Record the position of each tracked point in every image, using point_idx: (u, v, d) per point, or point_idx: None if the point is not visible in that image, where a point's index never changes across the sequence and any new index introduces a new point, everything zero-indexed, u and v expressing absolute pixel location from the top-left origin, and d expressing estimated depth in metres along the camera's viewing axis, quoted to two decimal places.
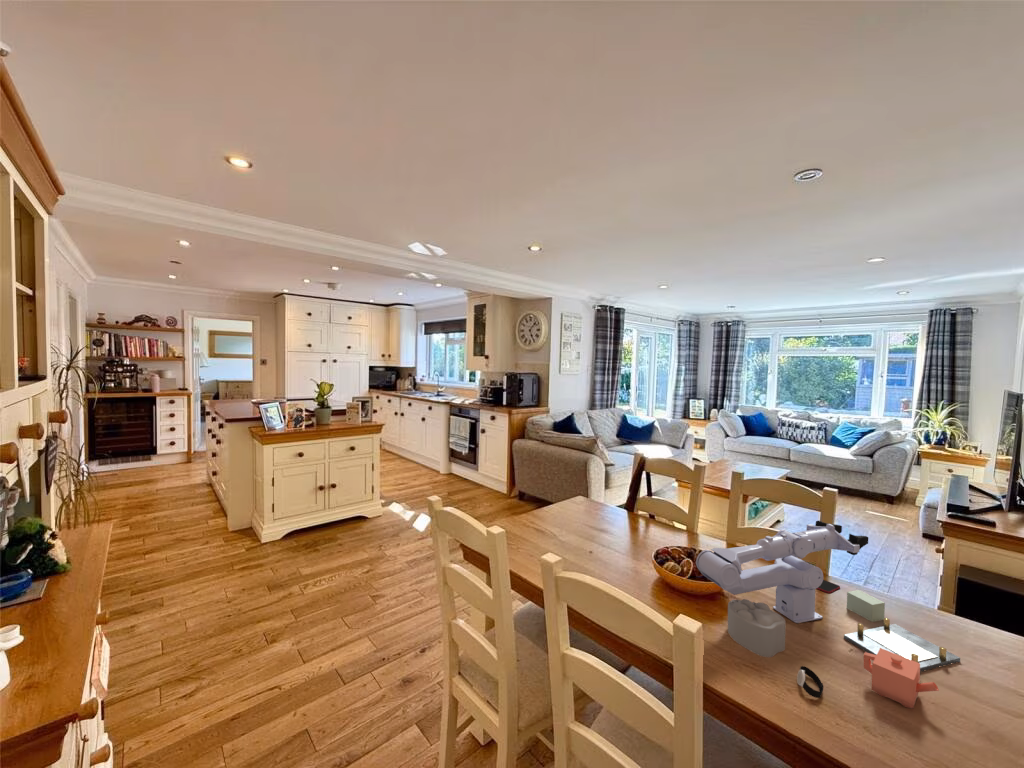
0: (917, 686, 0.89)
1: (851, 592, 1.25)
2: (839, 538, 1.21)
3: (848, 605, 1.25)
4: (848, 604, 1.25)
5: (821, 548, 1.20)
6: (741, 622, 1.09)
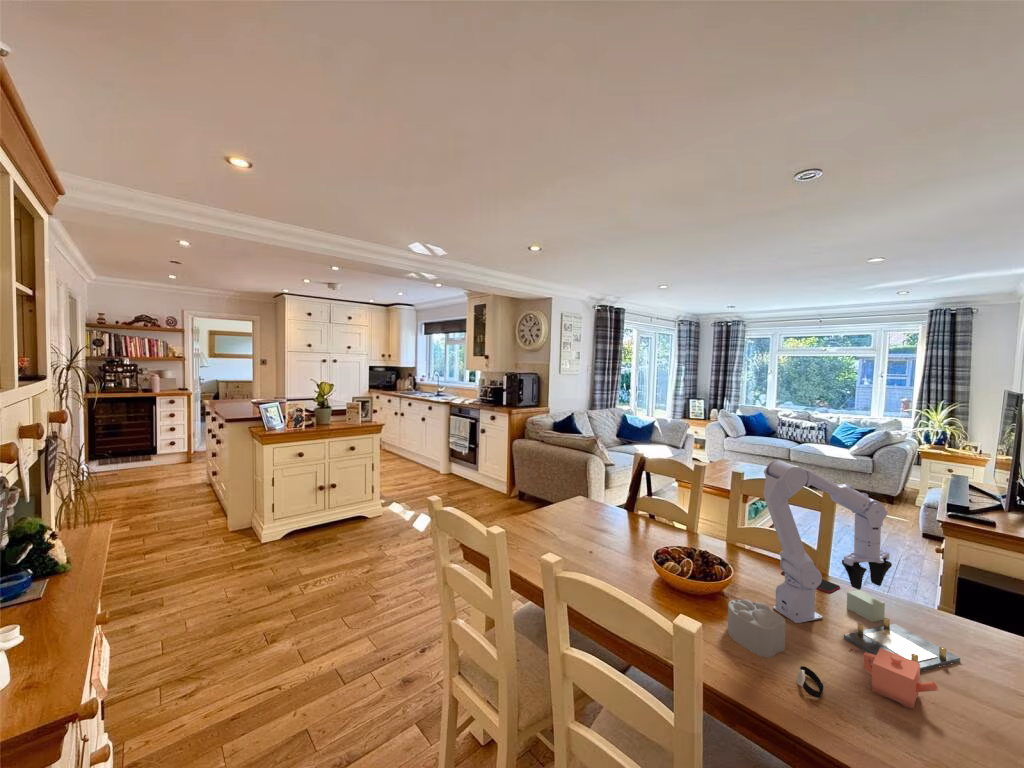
0: (917, 686, 0.89)
1: (851, 592, 1.25)
2: (863, 558, 1.20)
3: (848, 605, 1.25)
4: (848, 604, 1.25)
5: (870, 538, 1.19)
6: (741, 622, 1.09)
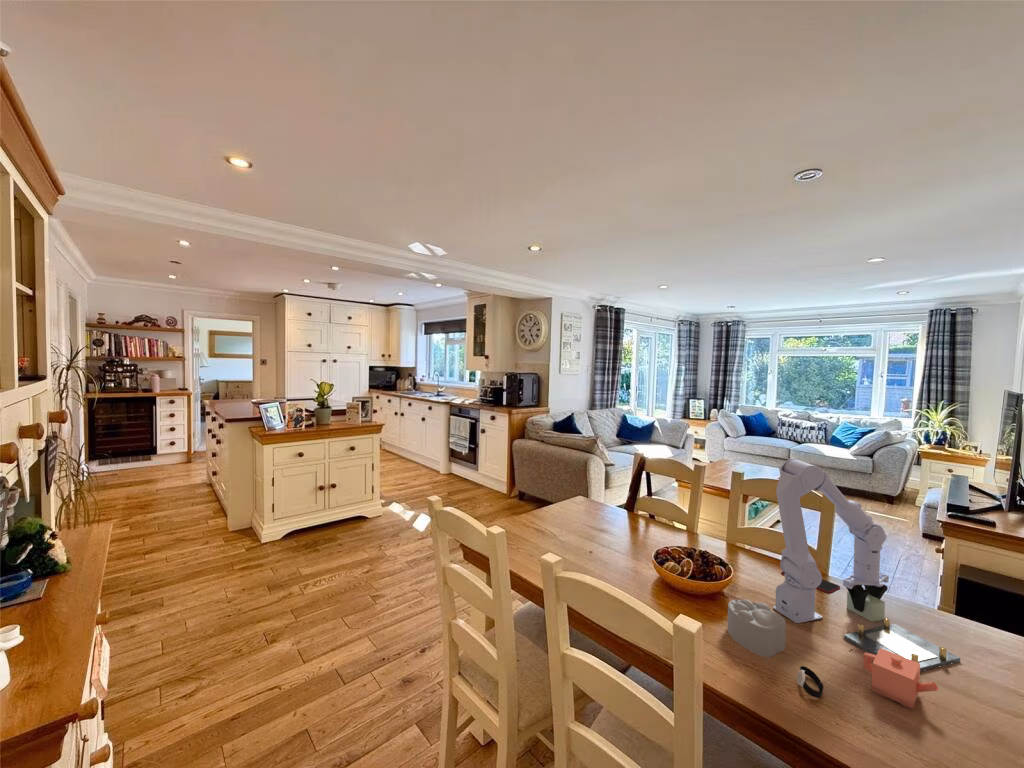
0: (917, 686, 0.89)
1: None
2: (862, 581, 1.20)
3: (848, 605, 1.25)
4: (848, 604, 1.25)
5: (869, 561, 1.19)
6: (741, 622, 1.09)
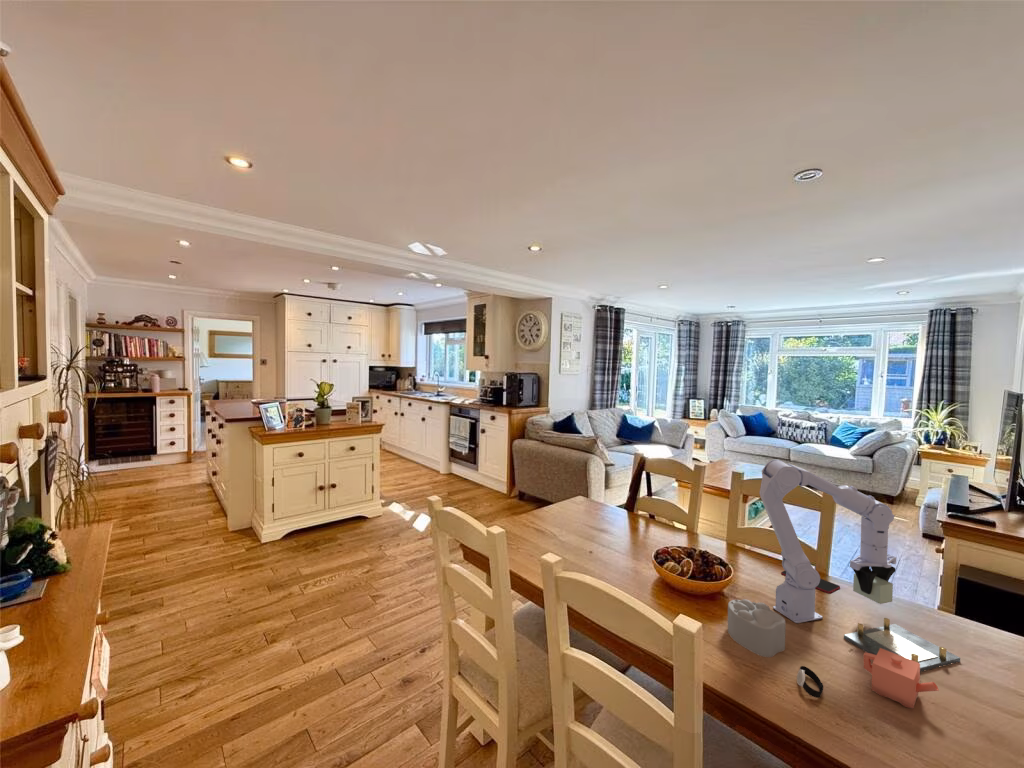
0: (917, 686, 0.89)
1: None
2: (870, 562, 1.16)
3: (855, 587, 1.21)
4: (855, 586, 1.21)
5: (874, 541, 1.16)
6: (741, 622, 1.09)
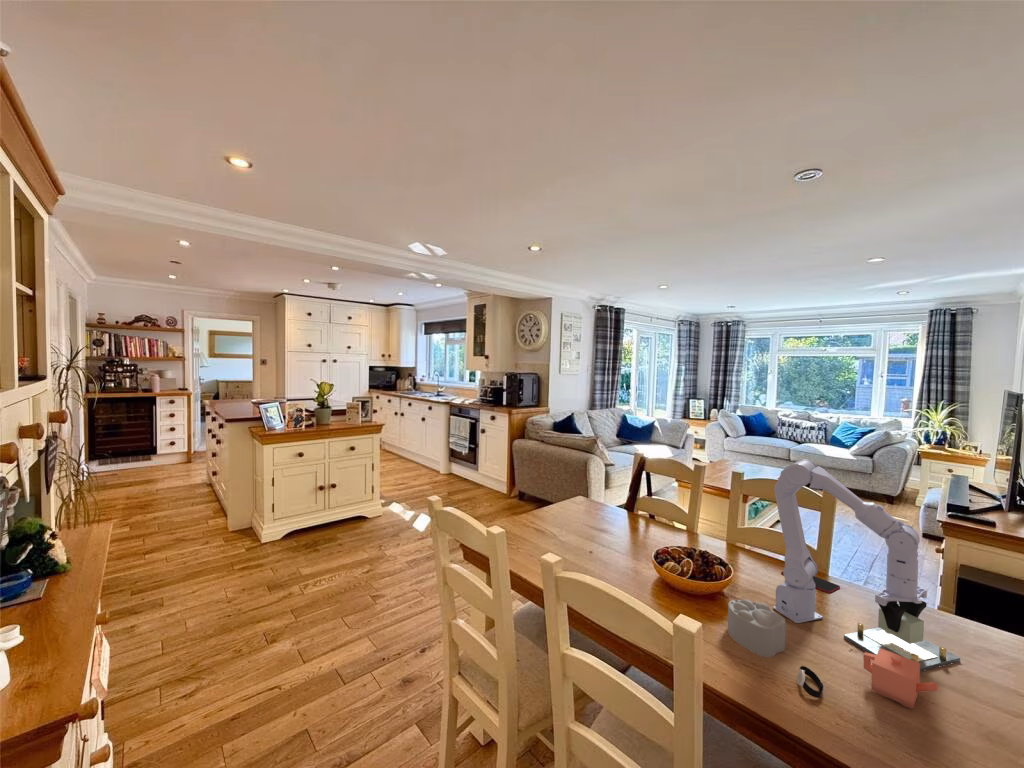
0: (917, 686, 0.89)
1: None
2: (898, 597, 1.04)
3: (880, 623, 1.09)
4: (880, 622, 1.09)
5: (893, 571, 1.05)
6: (741, 622, 1.09)
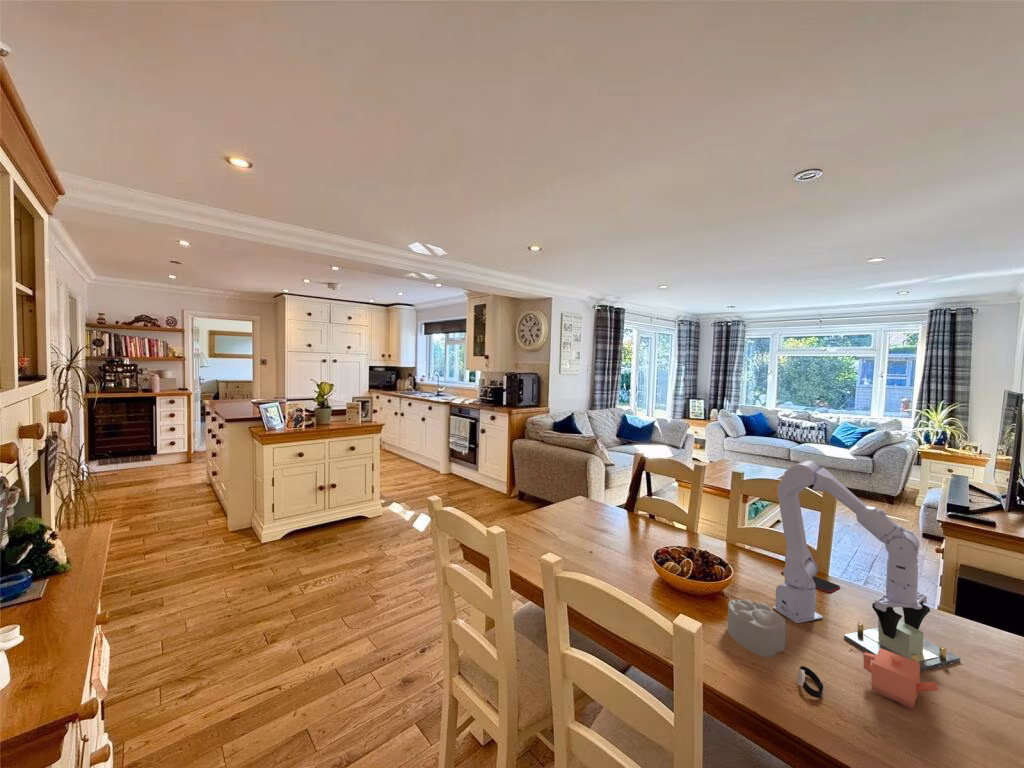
0: (917, 686, 0.89)
1: None
2: (897, 602, 1.04)
3: (880, 634, 1.09)
4: (880, 633, 1.09)
5: (893, 576, 1.05)
6: (741, 622, 1.09)
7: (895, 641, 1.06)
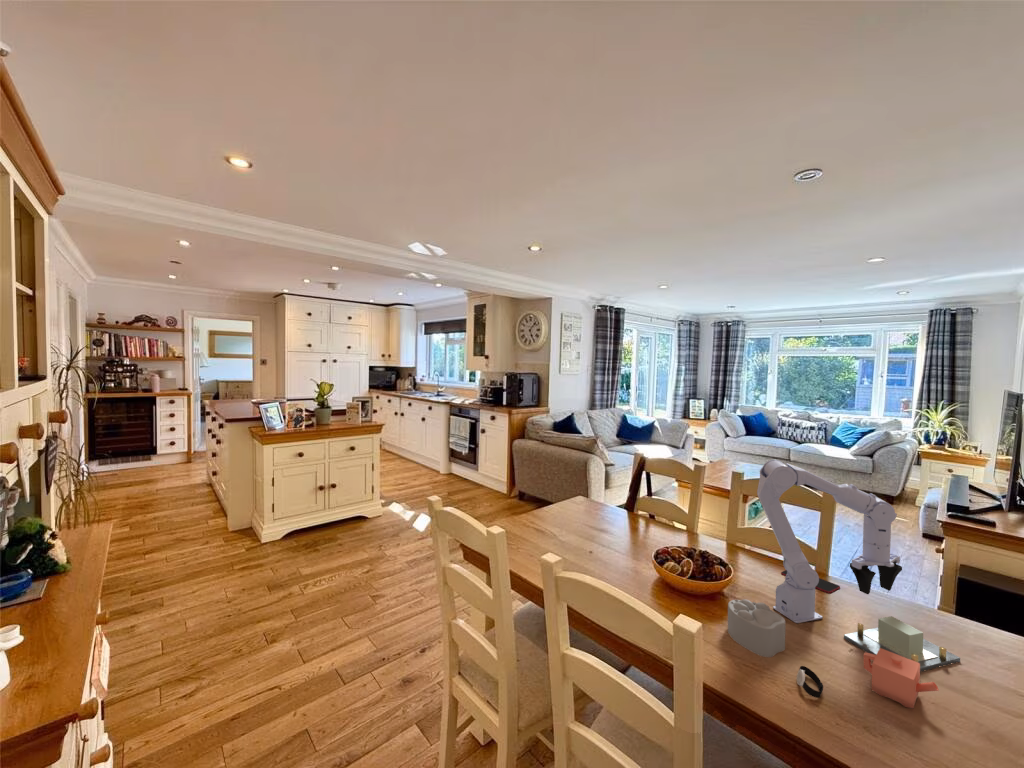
0: (917, 686, 0.89)
1: (883, 619, 1.09)
2: (872, 561, 1.15)
3: (880, 634, 1.09)
4: (880, 633, 1.09)
5: (875, 540, 1.14)
6: (741, 622, 1.09)
7: (895, 641, 1.06)
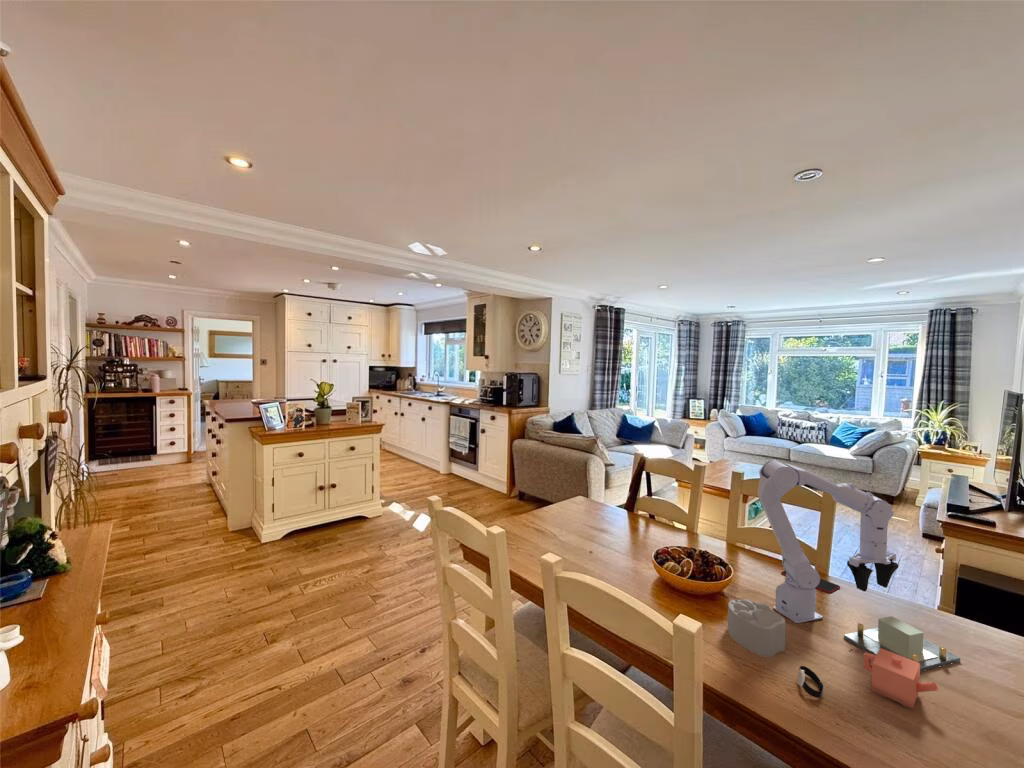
0: (917, 686, 0.89)
1: (883, 619, 1.09)
2: (869, 559, 1.16)
3: (880, 634, 1.09)
4: (880, 633, 1.09)
5: (873, 538, 1.16)
6: (741, 622, 1.09)
7: (895, 641, 1.06)
